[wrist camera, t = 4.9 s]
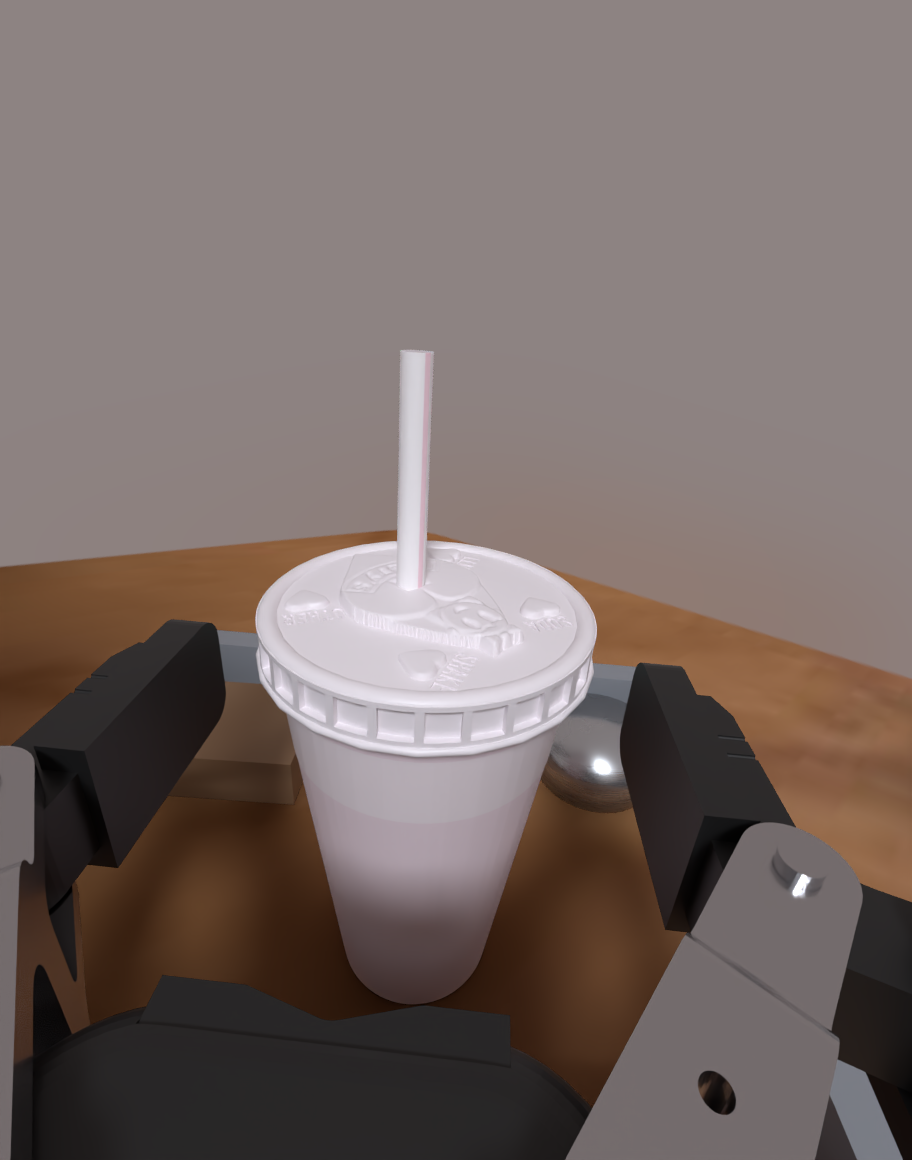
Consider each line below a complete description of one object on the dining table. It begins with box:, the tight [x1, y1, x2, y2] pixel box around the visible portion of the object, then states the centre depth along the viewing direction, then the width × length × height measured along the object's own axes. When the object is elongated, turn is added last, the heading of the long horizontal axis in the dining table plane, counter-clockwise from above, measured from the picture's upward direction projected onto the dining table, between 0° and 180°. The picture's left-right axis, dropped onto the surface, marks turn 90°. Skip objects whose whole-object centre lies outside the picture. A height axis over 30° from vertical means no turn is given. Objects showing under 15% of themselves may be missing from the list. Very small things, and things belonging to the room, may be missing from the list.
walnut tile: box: [168, 681, 303, 805], centre depth 20 cm, size 5×4×2 cm
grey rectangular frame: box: [217, 630, 903, 1160], centre depth 16 cm, size 20×16×2 cm
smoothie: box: [255, 350, 597, 1004], centre depth 12 cm, size 6×6×14 cm
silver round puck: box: [541, 693, 633, 813], centre depth 20 cm, size 4×4×2 cm
